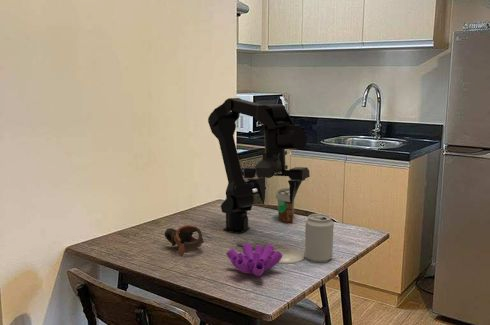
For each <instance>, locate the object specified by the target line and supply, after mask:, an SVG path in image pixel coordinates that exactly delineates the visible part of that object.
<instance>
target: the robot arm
mask: <svg viewBox="0 0 490 325" xmlns="http://www.w3.org/2000/svg"><path fill="white" fill-rule="evenodd" d="M240 114H241V115H245V116H248V117H253V118H255V119H256V121H257V122H258V123H260V124H261V125H263V126H262V127H261V128H260V129H259V130H258V132H259V134H263V135H264V136H263V137H264V152H262V159H261V160H259V162H258V163H257V164H255V165H254V166H253V165H252V166H248V167H245V168H244V170H243V171H242V166H241V163H240V159H239V155H238V154H239V153H238V150H237V146H236V142H235V136H234V134H235V132H236V129H237V124H236V122H237V121H238V120H239V118H240ZM207 118H208V119H207V122H208V125H209V129H210V132H211V133H212V134H213V136H214V137H215V138H216V139H217V141H218V144H219V149H220V152H221V157H222V161H223V164H224V170H225V174H226V179H227V186H226V189H225V197H226V198H225V199H224V200H223V202H222V203H221V205H220V209H221V213H223V214H225V227H223V228H222V231H225V232H230V233H235V234H242V233H243V232H246V231H247V230H249V229H251V227H250V226H249V216H248V211H249V212H250V211H252V207H253V204H254V201H255V193H254V190H253V185H254V186H255V188H256V191H257V193H258V195H259V198H260V199H261V200H260V201H261V202H265V201H266V200H265V199H266V179H270V178H273V177H288V178H289V179H290V180H289V179H288V180H287V182H288V185H289V188H290V203H293V201H294V202H295V198H296V196H297V193H298V190H299V188H300V186H301V184H302V182H304V181H306V179H308V178H310V177H311V176H310V170H309V168H308V167H305V166H304V167H303V166H302V167H300V166H297V167H296V166H295V167H292V168H288V167H289V165H288V164H286V156H287V155H288V150H294V151H296V150H297V151H300V150H303V149H304V148H305V147H306V146H307V142H308V136H307V133H306V132H305V131H304V129H302V124H295V123H294V121H293V120H292V118H291V116H290V114H289V113H288V111H287V109H286V106H285V105H283V104H282V103H281V104H279V103H278V104H274V103H273V104H263V103H257V102H254V101H249V100H246V99H242V98H240V97H229V98H227V99H225V100H224V102H223V103H222V104H220V105H219V106H217V107H216V108H214V109H213V110H212V112H211V113H210V114H209V116H208V117H207ZM245 179H247V180H248V182H247V181H246V180H245ZM251 183H252V184H253V185H252V184H251Z"/></svg>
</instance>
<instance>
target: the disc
mask: <svg viewBox="0 0 490 325" xmlns="http://www.w3.org/2000/svg"><path fill="white" fill-rule="evenodd" d="M274 251H275V252H276V251H278V252H280V253H281V254H282V255H283V256H282V258H281V260H280V261H279V262H278V263H277V264H285V265H286V264H287V265H288V264H297V263H300V262H302V261H304V259H305V254H304V253H303V252H301V251H299V250H296V249H288V248H280V249H274Z"/></svg>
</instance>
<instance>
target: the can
mask: <svg viewBox="0 0 490 325" xmlns="http://www.w3.org/2000/svg"><path fill="white" fill-rule="evenodd" d="M304 231H305V233H304V234H305V236H304V257H305V258H307V259H308V260H309V261H311V262H313V261H314V263H326V262H328V261H330V259H332V258H333V256H334V255H333V250H334V249H333V248H334V221H333V220H332V217H331V216H330V215H328V214H326V213H325V214H324V213H312V214H309V215H308V216H307V219H306V220H305V229H304Z"/></svg>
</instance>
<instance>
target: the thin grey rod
mask: <svg viewBox="0 0 490 325" xmlns="http://www.w3.org/2000/svg"><path fill="white" fill-rule="evenodd" d="M244 244H245V243H244V242H239V241H238V242H237V243H236V245H237V246H238V247H242V248H243V245H244ZM251 246H252V249H253V251H255V247H256V245H252V244H251ZM264 248H265V247H263V250H264Z"/></svg>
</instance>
